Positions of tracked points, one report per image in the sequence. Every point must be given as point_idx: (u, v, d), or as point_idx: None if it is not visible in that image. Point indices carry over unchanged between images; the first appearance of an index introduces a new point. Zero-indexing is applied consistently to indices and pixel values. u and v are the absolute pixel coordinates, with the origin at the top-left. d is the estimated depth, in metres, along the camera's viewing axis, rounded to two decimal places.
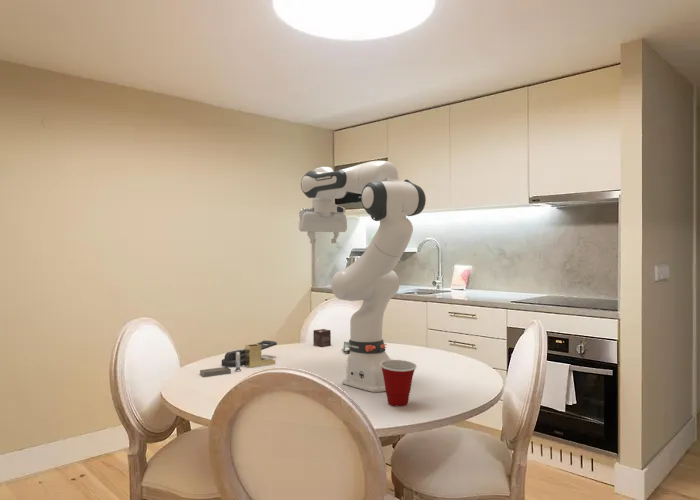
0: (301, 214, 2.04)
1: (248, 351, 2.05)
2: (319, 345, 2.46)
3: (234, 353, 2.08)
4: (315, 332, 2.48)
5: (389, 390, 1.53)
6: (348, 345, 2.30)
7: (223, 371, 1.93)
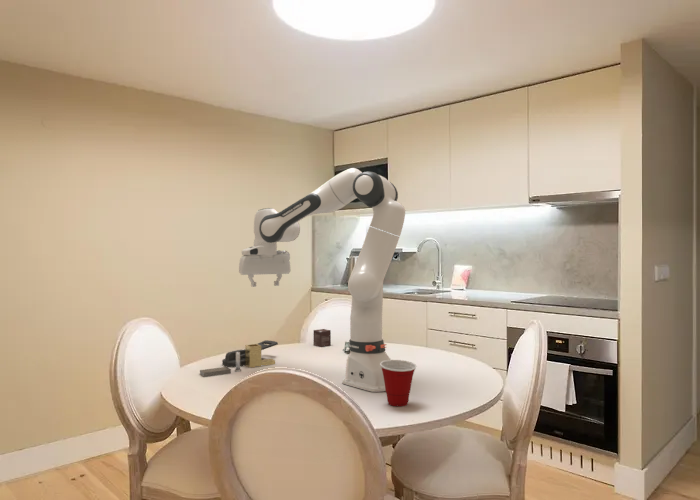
0: None
1: (248, 351, 2.05)
2: (319, 345, 2.46)
3: (235, 353, 2.08)
4: (315, 332, 2.48)
5: (389, 390, 1.53)
6: None
7: (223, 371, 1.93)
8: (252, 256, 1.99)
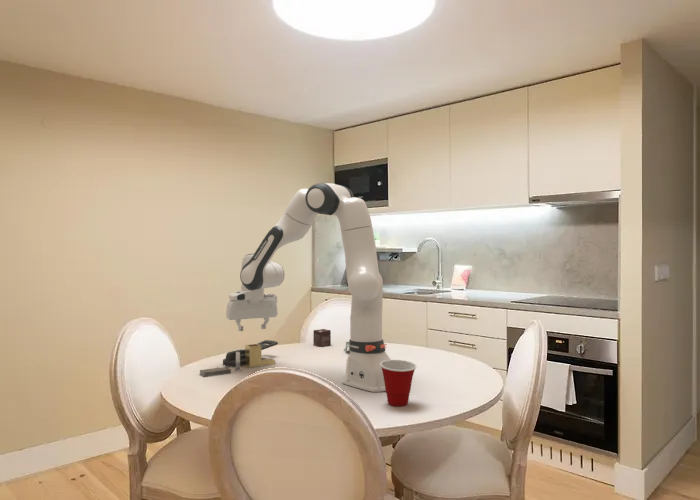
0: None
1: (248, 351, 2.05)
2: (319, 345, 2.46)
3: (235, 353, 2.08)
4: (315, 332, 2.48)
5: (389, 390, 1.53)
6: None
7: (223, 371, 1.93)
8: (239, 301, 2.01)
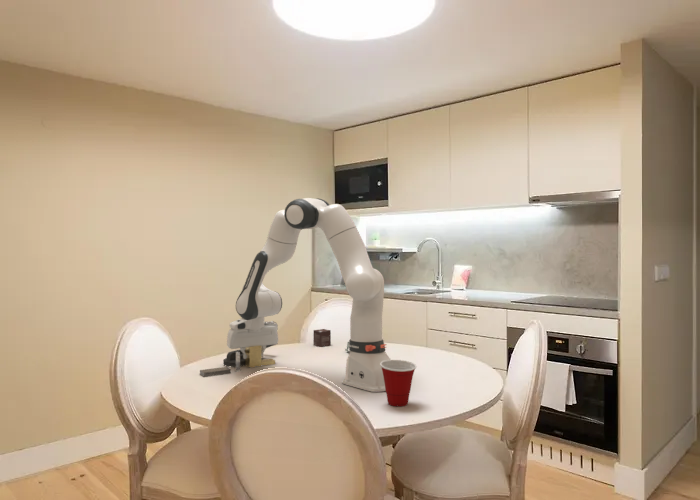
0: None
1: (248, 351, 2.05)
2: (319, 345, 2.46)
3: None
4: (315, 332, 2.48)
5: (389, 390, 1.53)
6: None
7: (223, 371, 1.93)
8: (240, 330, 2.02)
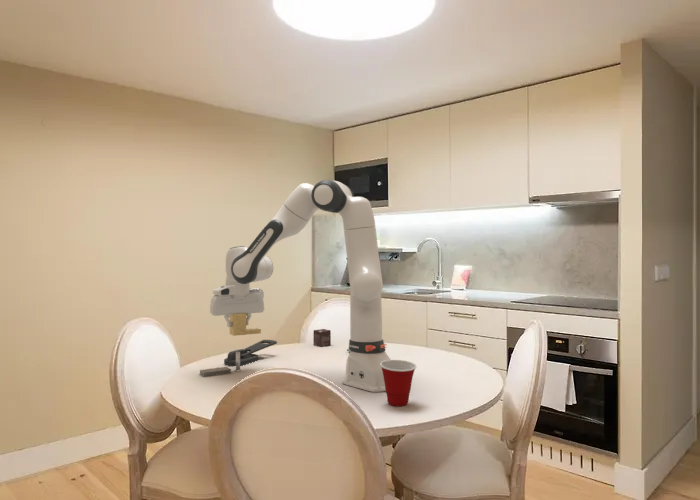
0: None
1: (232, 318, 1.96)
2: (319, 345, 2.46)
3: None
4: (315, 332, 2.48)
5: (389, 390, 1.53)
6: None
7: (223, 371, 1.93)
8: (223, 296, 1.93)
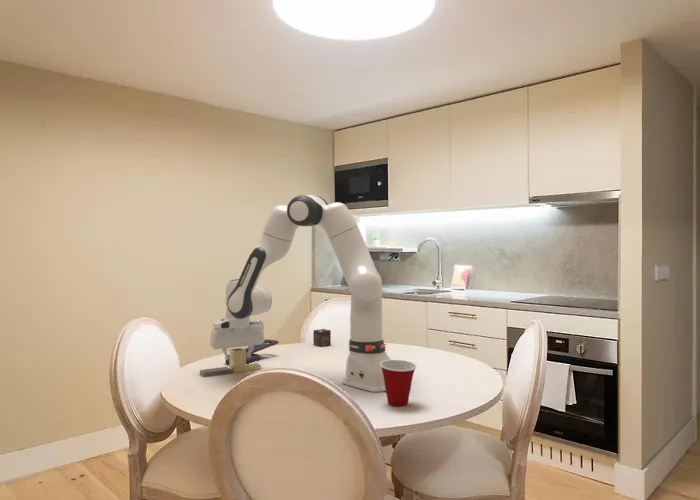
0: None
1: (232, 356, 1.96)
2: (319, 345, 2.46)
3: None
4: (315, 332, 2.48)
5: (389, 390, 1.53)
6: None
7: (223, 371, 1.93)
8: (223, 330, 1.93)
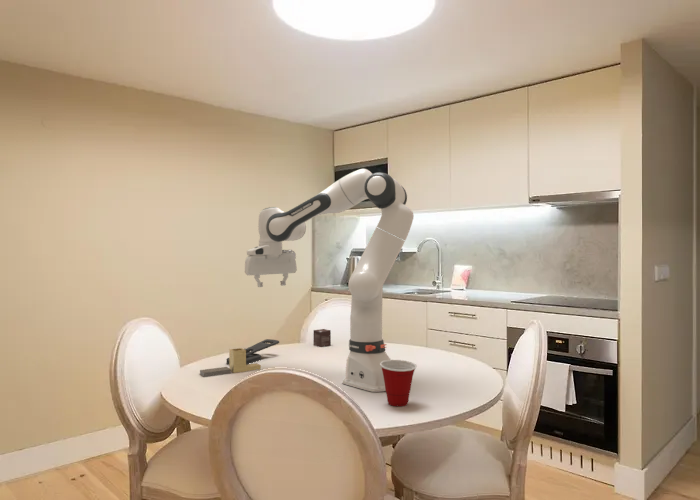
0: None
1: (232, 356, 1.96)
2: (319, 345, 2.46)
3: None
4: (315, 332, 2.48)
5: (389, 390, 1.53)
6: None
7: (223, 371, 1.93)
8: (258, 256, 1.96)
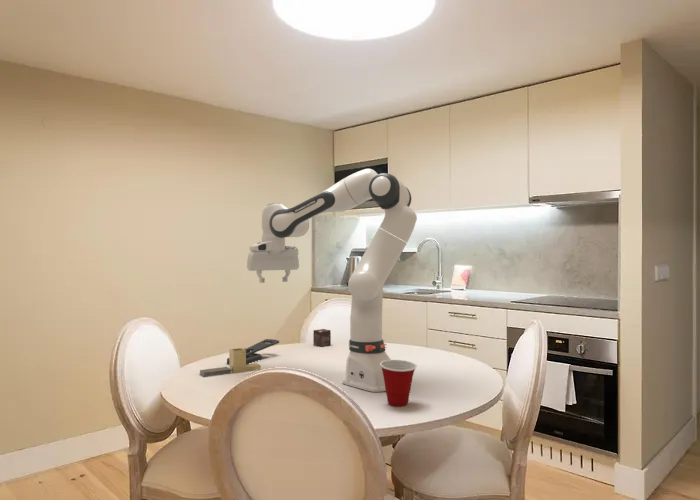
0: None
1: (232, 356, 1.96)
2: (319, 345, 2.46)
3: None
4: (315, 332, 2.48)
5: (389, 390, 1.53)
6: None
7: (223, 371, 1.93)
8: (260, 252, 1.96)
